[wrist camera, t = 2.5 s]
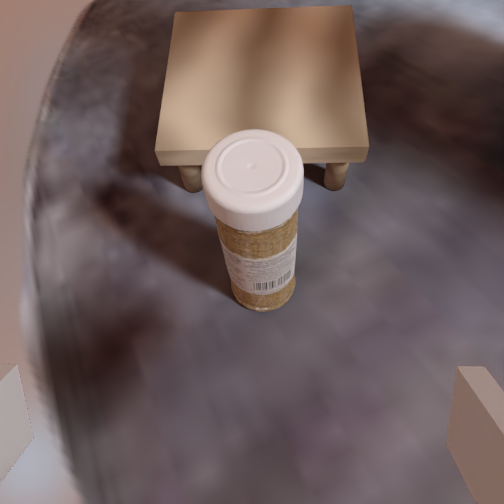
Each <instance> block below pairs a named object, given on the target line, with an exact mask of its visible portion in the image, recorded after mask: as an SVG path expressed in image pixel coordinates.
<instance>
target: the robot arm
mask: <svg viewBox="0 0 504 504" xmlns="http://www.w3.org/2000/svg"><path fill="white" fill-rule="evenodd" d="M33 438H34V437H33V432H32V427H31V423H30V418H29V414H28V409H27V405H26V400H25V396H24V392H23V387H22V383H21V378H20V374H19V369H18V365H17V364H0V484H1V482H2V481H3V479H4V478H5V477H6V475H7V474H8V473H9V471H10V470H11V468H12V467H13V466H14V464H15V463H16V461H17V460H18V459H19V457H20V456H21V454H22V453H23V452H24V450H25V449H26V447H27V446H28V445H29V444H30V442H31V441H32V439H33ZM446 444H447V446H448V448H449V450H450V452H451V454H452V456H453V458H454V460H455V462H456V464H457V466H458V468H459V470H460V472H461V474H462V476H463V478H464V480H465V482H466V484H467V486H468V488H469V490H470V492H471V494H472V496H473V498H474V500H475V502H476V504H504V391H503V390H502V389H501V387H500V386H499V385H498V384H497V382H496V381H495V380H494V379H493V377H492V376H491V375H490V373H489V372H488V371H487V370H486V368H485V367H479V366H457V368H456V376H455V383H454V390H453V397H452V405H451V412H450V419H449V426H448V434H447V441H446Z"/></svg>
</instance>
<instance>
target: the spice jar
mask: <svg viewBox="0 0 504 504" xmlns="http://www.w3.org/2000/svg"><path fill="white" fill-rule="evenodd" d="M201 179H202V185H203V189H204V193H205V197H206V201H207V204H208V206H209V208H210V210H211V211H212V213H213V214H214V216H215V220H216V223H217V230H218V235H219V239H220V242H221V246H222V250H223V254H224V258H225V262H226V266H227V270H228V273H229V276H230V278H231V288H232V291H233V294H234V296H235V297H236V299H237V300H238V302H239V303H241V304H242V305H243V306H244V307H246V308H248V309H250V310H254V311H258V312H265V311H271V310H275V309H277V308H279V307H280V306H282V305H284V304H285V303H286V302H287V301H288V299H289V298H290V296H291V295H292V294H293V290H294V287H295V276H294V268H295V257H296V244H297V225H298V221H297V218H298V206H299V204H300V202H301V199H302V195H303V183H304V168H303V162H302V158H301V156H300V154H299V152H298V151H297V149H296V148H295V146H294V145H293V144H292V143H291V142H290V141H288V140H287V139H286V138H284V137H283V136H281V135H279V134H276V133H274V132H271V131H267V130H260V129H250V130H242V131H238V132H235V133H232V134H230V135H227V136H226V137H224V138H222V139H221V140H219V141H218V142H217V143H216V144H215V145H214V146H213V147H212V148H211V149H210V150H209V152H208V153H207V155H206V157H205V159H204V161H203V164H202V170H201Z"/></svg>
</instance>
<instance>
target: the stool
mask: <svg viewBox="0 0 504 504" xmlns="http://www.w3.org/2000/svg"><path fill="white" fill-rule="evenodd" d="M250 129H260V130H267V131H271V132H274V133H276V134H279V135H281V136H283V137H284V138H286V139H287V140H288V141H290V142H291V143H292V144H293V145H294V146H295V148H296V149H297V151H298V152H299V154H300V156H301V158H302V162H303V163H326V169H325V176H324V185H325V187H326V188H327V189H329V190H332V191H337V190H340V189H341V188H342V187H343V186H344V183H345V178H346V174H347V170H348V165H349V162H365V160H366V157H367V153H368V149H369V140H368V132H367V124H366V116H365V108H364V100H363V91H362V83H361V75H360V67H359V59H358V51H357V42H356V34H355V26H354V18H353V10H352V5H345V6H318V7H292V8H266V9H240V10H214V11H188V12H175V17H174V24H173V30H172V37H171V44H170V51H169V57H168V64H167V71H166V78H165V84H164V91H163V98H162V105H161V111H160V118H159V125H158V132H157V138H156V145H155V153H156V156H157V158H158V161H159V163H160V166H178V168H179V171H180V174H181V177H182V180H183V184H184V187H185V189H186V190H187V191H188V192H191V193H196V192H199V191H201V190H202V189H203V185H202V179H201V168H200V165H202V164H203V161H204V159H205V157H206V155H207V153H208V152H209V150H210V149H211V148H212V147H213V146H214V145H215V144H216V143H217V142H218V141H219V140H221V139H222V138H224V137H226V136H227V135H230V134H232V133H235V132H238V131H242V130H250Z"/></svg>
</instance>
